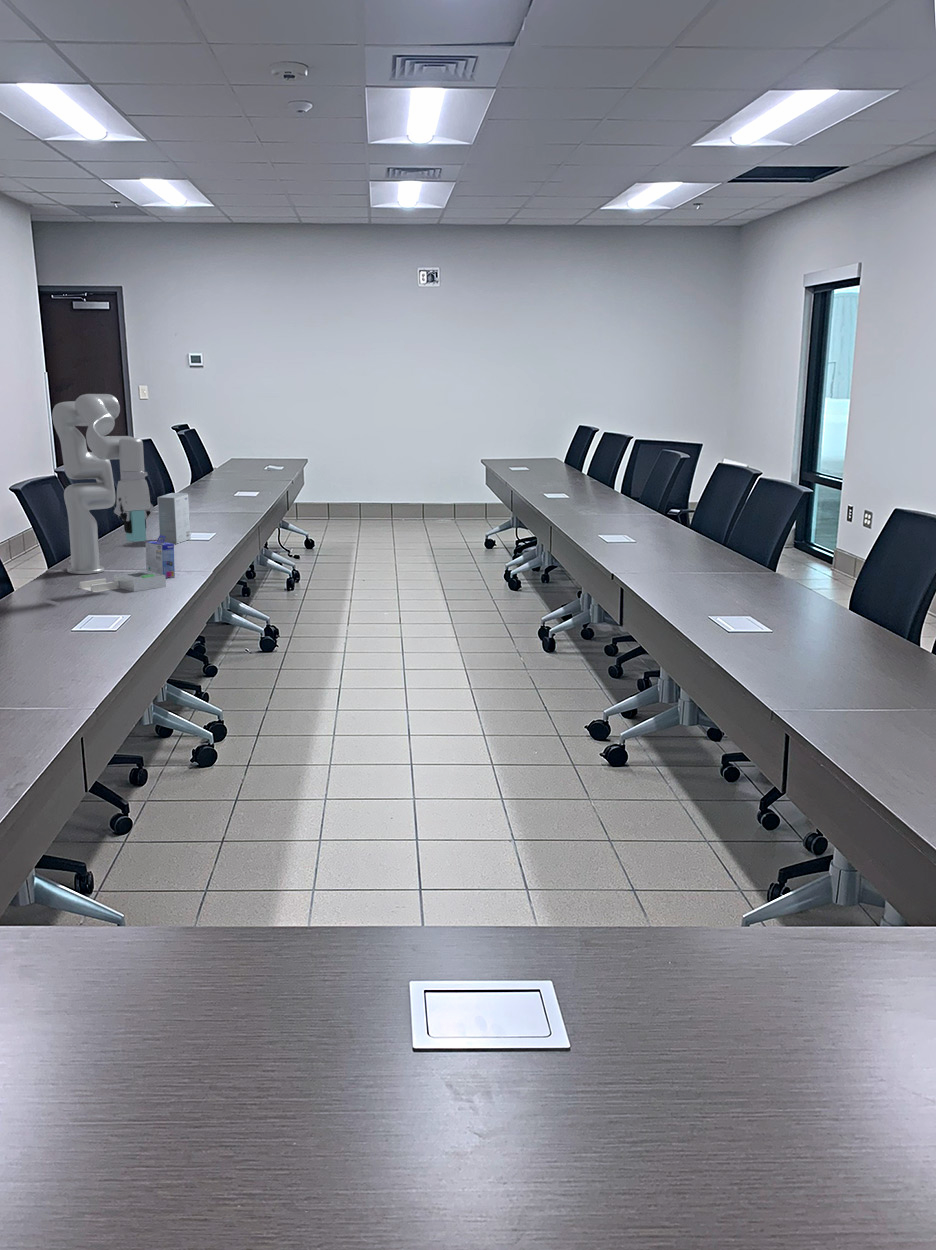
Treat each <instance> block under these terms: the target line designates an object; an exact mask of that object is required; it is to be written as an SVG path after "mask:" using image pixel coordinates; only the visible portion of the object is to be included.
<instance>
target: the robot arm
mask: <svg viewBox="0 0 936 1250" xmlns="http://www.w3.org/2000/svg"><path fill="white" fill-rule="evenodd" d="M120 412H121V406H120V403H119V401H118V399H117V397H116V396H114V395H113V394H109V393H85V394H81V395H79V396H78V397H77V398H76V399H75V400H73V401H62V402H58V403H56V404H55V405H54V407H53V409H52V415H51V416H52V417H51V418H52V423H53V426H54V429H55V432H56V435H57V436H58V438H59V442H60V447H61V456H62V462H63V467H64V472H65V473H64V474H65V475H66V477H67V478H69V479H70V480H96V482H80V483H79V482H78V483H73V484H70V485H68V486H66V488H65V489H64V491H63V498H64V503H65V506H66V507H65V508H66V512H67V518H68V519H67V520H68V532H69V533H68V534H69V543H70V546H69V548H70V559H69V560H68V562H69V563H70V564H71V566H70V567H67V568H66V569H67V570H66V571H67V573H68V574H69V573H70V574H74V575H88V574H89V575H90V574H97V573H103V572H104V571H105V567H104V566H102V565H100V550H99V548H100V547H99V534H98V521H97V520H96V518H95V517H94V515H92V513H91V512H90V511H92V510H105V509H110V508H113V506H115V503H116V506H115V508H114V510H113V513H114V514H115V515H117V516H119V517H120V519H121V520H122V521H123V527H124V528H123V529H124V532H125V534H126V533H132V526H131V521H130V515H131V511H139V510H144V514H145V528H146V529H147V520H148V517H149V516H150V515H151V513H152V512H154V510H155V507H154V505H153V504H152V503H151V496H150V490H149V489H150V488H149V485H148V482H147V480H146V477H147V476H148V472H147V471H146V470H145V458H144V455H145V454H144V442H143V440H142V439H141V438H138V437H134V436H131V435H109V434H110V433H111V432H112V431H113V430H114V428H115V425H116V423H115V422H116V421H115V420H116V419H117V418H118V417H119V414H120ZM77 427H87V430H86V433H85V436H84V435H83V433H82V432H81V431H80V430H79V429H78V428H77ZM107 435H108V436H107ZM87 447H88V448H89V449H90V451H88V448H87ZM111 460H119V472H120V476H119V477H120V480H118V482H117V485H116V490H115V482H114V475H113V469H112V464H111Z"/></svg>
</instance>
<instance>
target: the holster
mask: <svg viewBox="0 0 936 1250" xmlns="http://www.w3.org/2000/svg"><path fill="white" fill-rule="evenodd" d="M78 589H82V590H84V591H88V592H93V593H98V592H105V591H113V590H118V589H120V588H118V585H117V582H116V581H115V582H114V581H110V582H107V578H99V579H92V580H91V579H90V580H85V581H79V587H78Z"/></svg>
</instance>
